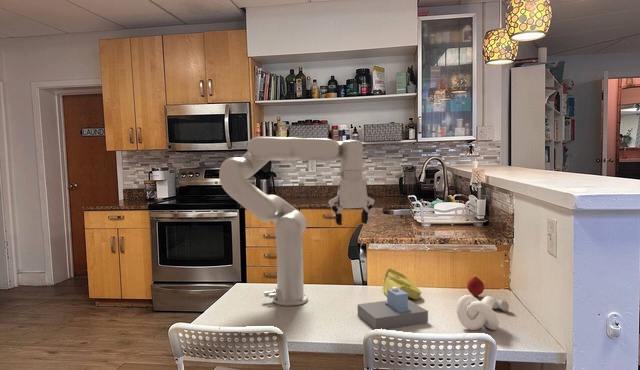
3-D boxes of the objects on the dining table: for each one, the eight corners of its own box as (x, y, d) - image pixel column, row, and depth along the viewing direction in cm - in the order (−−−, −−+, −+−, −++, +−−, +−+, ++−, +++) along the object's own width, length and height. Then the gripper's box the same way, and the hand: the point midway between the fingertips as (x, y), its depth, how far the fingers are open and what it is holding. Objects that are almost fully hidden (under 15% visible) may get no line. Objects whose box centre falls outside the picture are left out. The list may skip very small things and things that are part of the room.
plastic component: (423, 294, 145) (399, 283, 143) (414, 312, 145) (390, 301, 144) (406, 275, 164) (385, 265, 163) (398, 291, 165) (377, 281, 163)
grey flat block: (375, 330, 118) (375, 318, 118) (357, 315, 131) (357, 304, 130) (427, 322, 124) (427, 311, 124) (405, 308, 136) (405, 298, 136)
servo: (399, 322, 123) (399, 293, 123) (384, 311, 132) (384, 285, 131) (410, 320, 124) (410, 292, 124) (395, 310, 133) (395, 284, 133)
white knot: (463, 316, 129) (464, 288, 129) (503, 324, 122) (504, 295, 122) (453, 328, 120) (453, 298, 120) (496, 337, 113) (496, 306, 113)
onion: (485, 295, 150) (485, 274, 149) (482, 300, 145) (482, 278, 144) (468, 293, 153) (469, 272, 152) (465, 297, 148) (465, 276, 148)
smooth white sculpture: (483, 309, 139) (493, 303, 140) (501, 317, 131) (512, 310, 133) (480, 298, 138) (490, 292, 140) (498, 305, 131) (509, 298, 132)
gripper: (332, 176, 134) (332, 226, 135) (378, 175, 140) (378, 224, 140) (325, 175, 141) (325, 223, 142) (369, 175, 147) (369, 221, 148)
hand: (351, 224), depth 141 cm, fingers open, 9 cm apart
